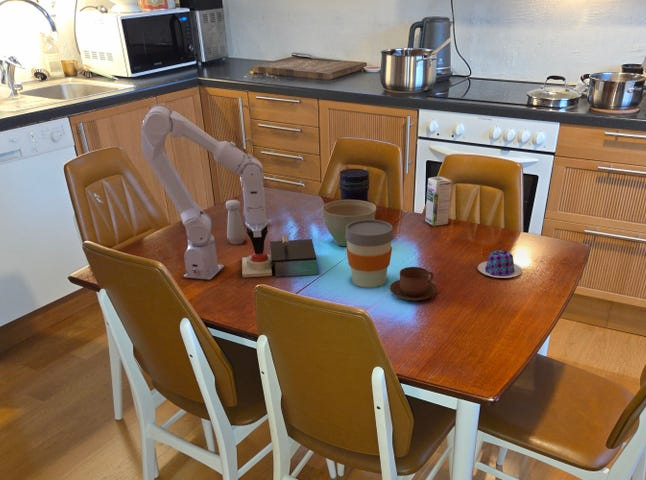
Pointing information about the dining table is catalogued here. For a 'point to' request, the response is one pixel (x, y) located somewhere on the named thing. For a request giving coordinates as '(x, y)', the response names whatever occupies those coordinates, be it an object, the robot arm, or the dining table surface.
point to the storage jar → (354, 184)
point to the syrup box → (438, 201)
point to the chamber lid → (292, 250)
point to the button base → (256, 267)
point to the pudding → (500, 265)
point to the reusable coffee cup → (369, 251)
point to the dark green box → (295, 268)
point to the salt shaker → (235, 223)
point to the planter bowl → (346, 216)
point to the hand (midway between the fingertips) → (259, 253)
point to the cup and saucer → (414, 284)
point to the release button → (259, 257)
